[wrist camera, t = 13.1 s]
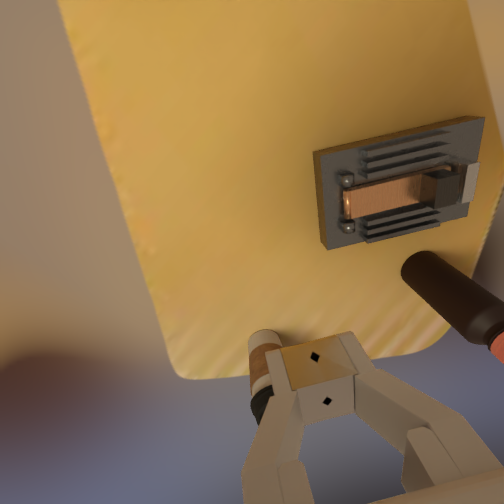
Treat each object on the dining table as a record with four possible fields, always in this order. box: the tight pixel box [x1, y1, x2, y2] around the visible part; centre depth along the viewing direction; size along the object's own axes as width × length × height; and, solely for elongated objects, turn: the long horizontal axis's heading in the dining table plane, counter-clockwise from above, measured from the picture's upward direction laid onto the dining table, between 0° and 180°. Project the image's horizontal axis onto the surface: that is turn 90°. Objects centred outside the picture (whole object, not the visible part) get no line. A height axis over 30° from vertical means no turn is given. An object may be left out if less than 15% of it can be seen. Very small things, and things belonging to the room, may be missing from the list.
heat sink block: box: [313, 116, 485, 250], centre depth 41 cm, size 22×14×6 cm, turn 101°
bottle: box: [401, 251, 504, 364], centre depth 43 cm, size 7×7×20 cm
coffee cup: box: [248, 330, 283, 426], centre depth 49 cm, size 8×8×15 cm
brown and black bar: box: [343, 165, 461, 219], centre depth 39 cm, size 4×4×15 cm
